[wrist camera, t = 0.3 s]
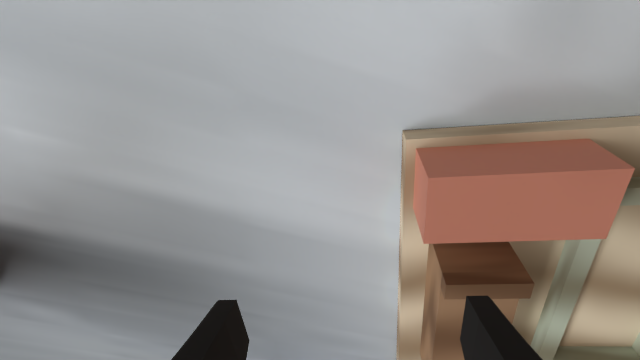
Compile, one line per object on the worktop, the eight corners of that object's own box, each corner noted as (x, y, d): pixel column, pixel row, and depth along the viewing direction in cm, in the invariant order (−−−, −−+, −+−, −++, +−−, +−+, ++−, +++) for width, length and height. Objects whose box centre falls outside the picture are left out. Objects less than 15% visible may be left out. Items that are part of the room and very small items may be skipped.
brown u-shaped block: (476, 352, 25) (496, 409, 21) (419, 352, 25) (431, 408, 22) (502, 232, 19) (534, 283, 16) (429, 234, 20) (445, 284, 16)
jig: (616, 362, 26) (638, 392, 24) (396, 360, 28) (400, 388, 26) (758, 108, 16) (814, 125, 14) (402, 130, 18) (409, 148, 16)
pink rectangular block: (568, 201, 18) (606, 238, 15) (413, 207, 19) (423, 243, 16) (588, 138, 16) (635, 168, 14) (415, 148, 17) (428, 178, 14)
